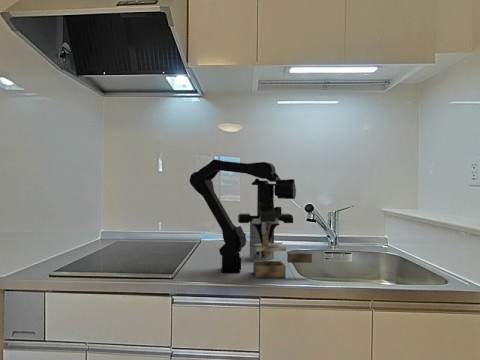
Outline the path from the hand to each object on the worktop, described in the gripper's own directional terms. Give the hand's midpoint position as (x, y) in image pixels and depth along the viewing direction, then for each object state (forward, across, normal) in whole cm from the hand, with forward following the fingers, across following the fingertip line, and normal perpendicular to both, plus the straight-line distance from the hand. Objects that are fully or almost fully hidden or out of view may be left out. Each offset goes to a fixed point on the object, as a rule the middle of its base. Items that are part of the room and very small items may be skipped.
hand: (264, 243), depth 129 cm
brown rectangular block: (+6, +11, -4) cm, 13 cm away
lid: (+2, +2, -1) cm, 3 cm away
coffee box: (+11, +2, +24) cm, 27 cm away
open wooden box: (+11, +1, -1) cm, 11 cm away
